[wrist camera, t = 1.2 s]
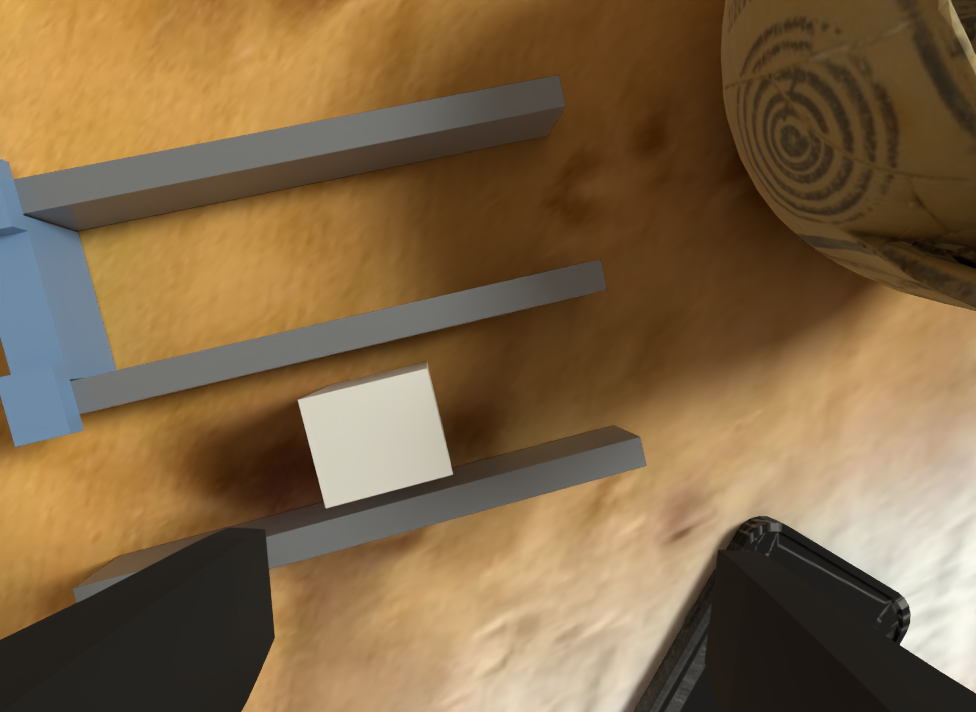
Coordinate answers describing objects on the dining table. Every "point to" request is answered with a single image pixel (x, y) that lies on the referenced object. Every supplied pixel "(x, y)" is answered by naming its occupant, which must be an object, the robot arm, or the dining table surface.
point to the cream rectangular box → (375, 434)
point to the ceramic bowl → (863, 131)
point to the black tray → (683, 675)
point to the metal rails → (246, 172)
